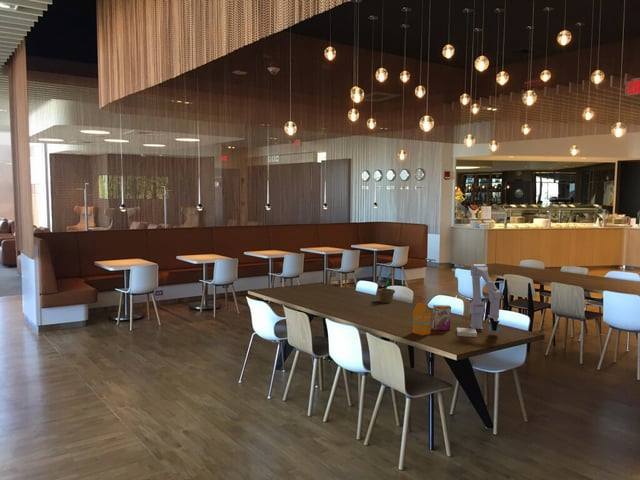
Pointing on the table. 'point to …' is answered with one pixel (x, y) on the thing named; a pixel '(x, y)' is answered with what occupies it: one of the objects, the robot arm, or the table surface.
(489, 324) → the teal cube
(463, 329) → the grey plinth
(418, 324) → the orange juice
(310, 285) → the table surface
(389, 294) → the flowerpot
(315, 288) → the table surface
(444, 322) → the candy bar box
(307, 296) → the table surface
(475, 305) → the robot arm
